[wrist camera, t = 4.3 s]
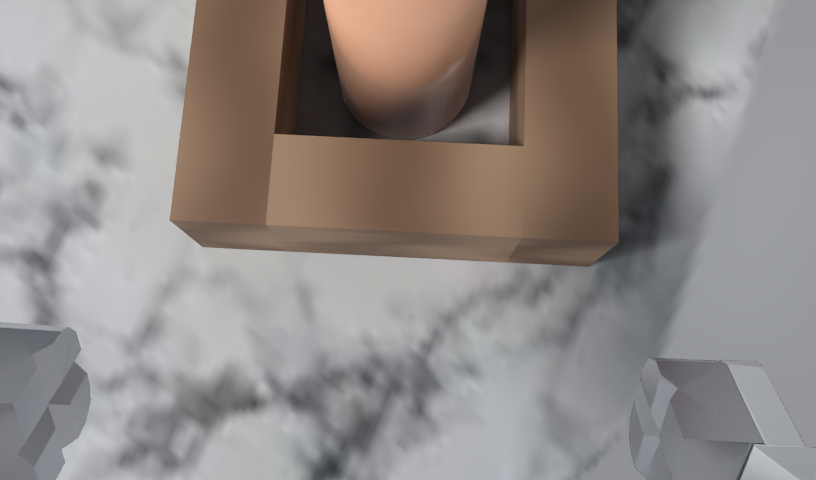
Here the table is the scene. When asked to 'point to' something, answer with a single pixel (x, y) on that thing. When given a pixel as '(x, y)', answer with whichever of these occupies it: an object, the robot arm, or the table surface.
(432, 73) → the terracotta jar
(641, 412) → the robot arm
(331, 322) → the table surface
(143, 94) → the table surface
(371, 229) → the walnut holder
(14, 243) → the table surface
